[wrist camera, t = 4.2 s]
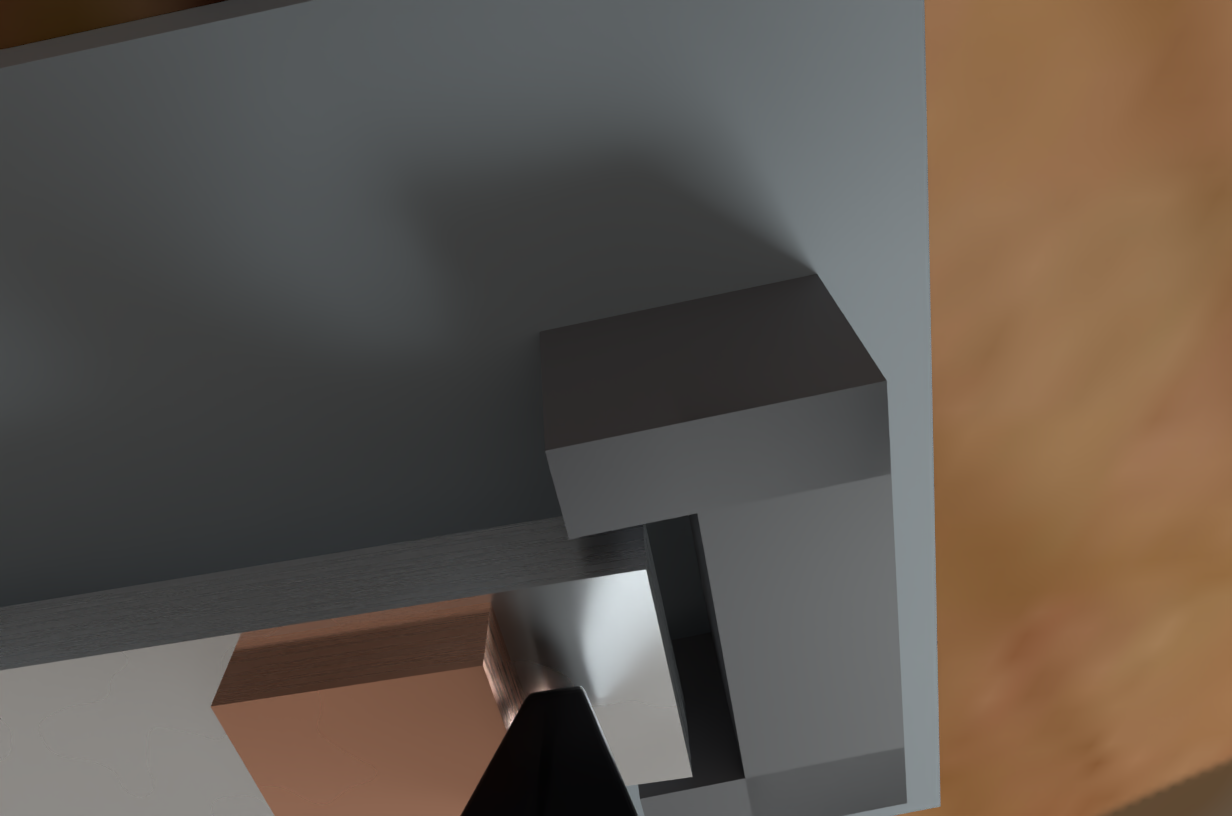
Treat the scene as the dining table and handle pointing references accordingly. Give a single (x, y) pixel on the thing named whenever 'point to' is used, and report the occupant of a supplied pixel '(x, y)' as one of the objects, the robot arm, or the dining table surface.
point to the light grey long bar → (335, 678)
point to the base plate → (503, 330)
